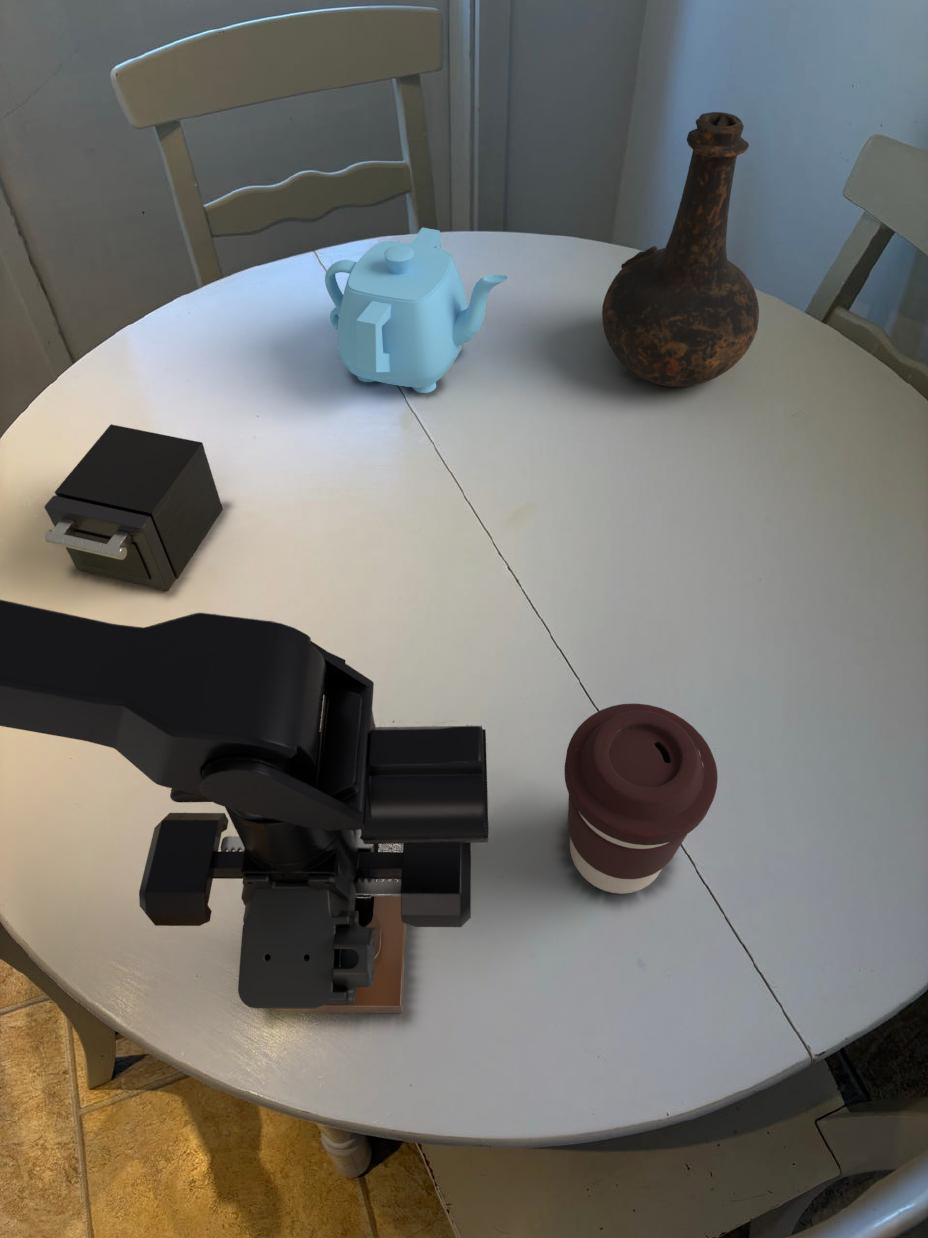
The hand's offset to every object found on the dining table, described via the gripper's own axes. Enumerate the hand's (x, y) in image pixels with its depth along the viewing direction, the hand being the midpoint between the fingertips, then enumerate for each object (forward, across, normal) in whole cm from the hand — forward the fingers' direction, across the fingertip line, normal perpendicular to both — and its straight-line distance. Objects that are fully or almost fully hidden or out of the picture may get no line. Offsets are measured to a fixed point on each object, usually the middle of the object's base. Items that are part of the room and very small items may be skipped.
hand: (329, 918), depth 58 cm
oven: (+7, -23, +42) cm, 48 cm away
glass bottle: (+8, +33, +71) cm, 78 cm away
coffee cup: (+8, +20, +8) cm, 23 cm away
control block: (+7, 0, 0) cm, 7 cm away
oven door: (+7, -25, +35) cm, 44 cm away
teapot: (+8, +3, +70) cm, 71 cm away
